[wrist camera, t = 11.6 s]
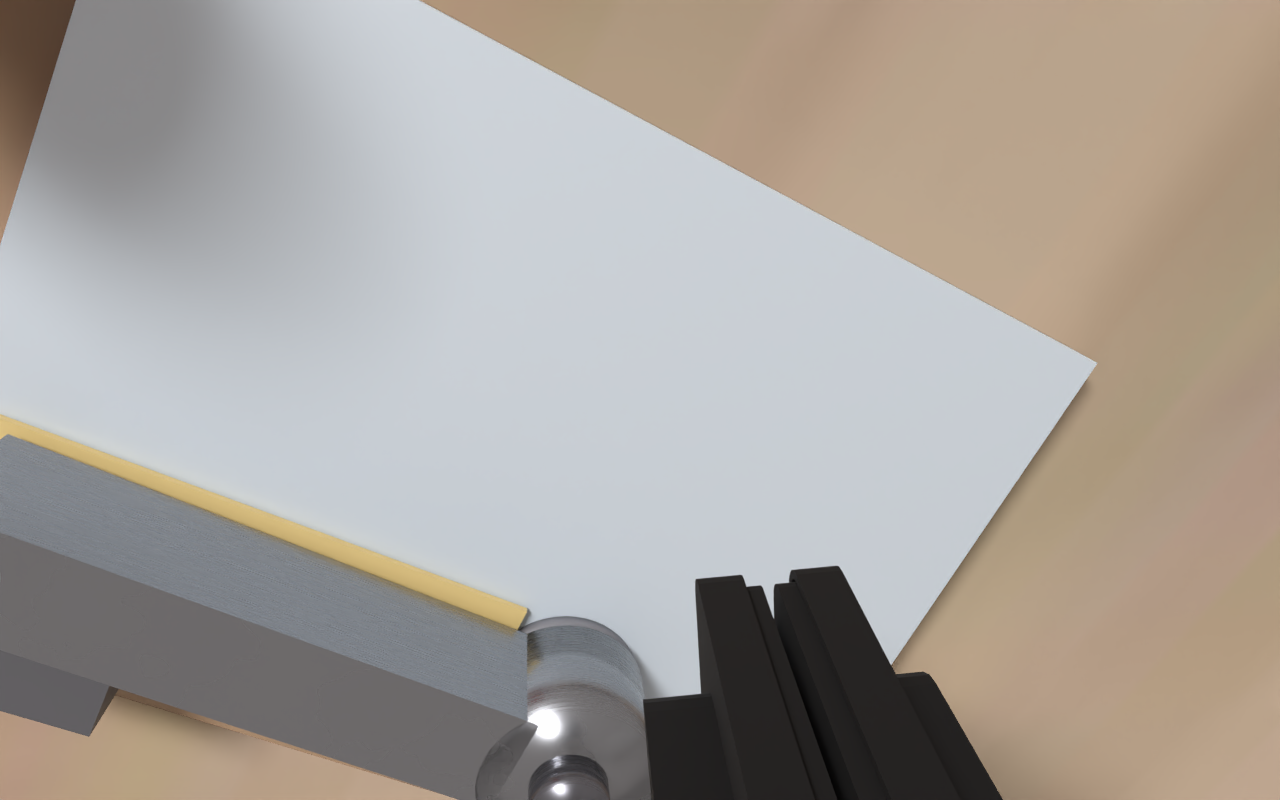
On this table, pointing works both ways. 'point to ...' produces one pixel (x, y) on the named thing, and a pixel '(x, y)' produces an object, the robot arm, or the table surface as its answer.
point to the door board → (483, 335)
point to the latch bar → (306, 644)
